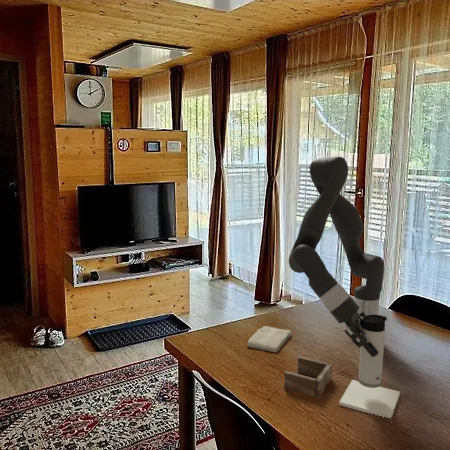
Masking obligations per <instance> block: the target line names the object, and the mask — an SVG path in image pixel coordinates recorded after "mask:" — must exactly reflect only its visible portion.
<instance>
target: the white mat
mask: <svg viewBox="0 0 450 450" xmlns="http://www.w3.org/2000/svg"><path fill="white" fill-rule="evenodd" d="M400 395H401V391H399V390H396V389H395V390H394V389H391V388H387V387H383V386H379V387H377V388H369V387H365V386H363V385H361V384H360V383H359V381H358V380H355V379H351V381H350V383H349V384H348V386H347V388H346V390H345V391H344V393H343V395H342V397H341V398H340V399H339V403H338V405H339V406H341V407H345V408H348V409H349V408H350V409H352V410H356V411H360V412H363V413H366V412H367V413H366V414H370V413H371V414H370V415H373V414H375V415H374V416H377V415H378V416H377V417H380V416H382V417H381V418H384V417H387V418H391V417H392V418H393V415H394V412H395V410H394V409H396V406H397V404H398V402H399V401H398V400H399V398H400ZM387 418H386V419H387ZM392 418H391V419H392Z"/></svg>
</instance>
